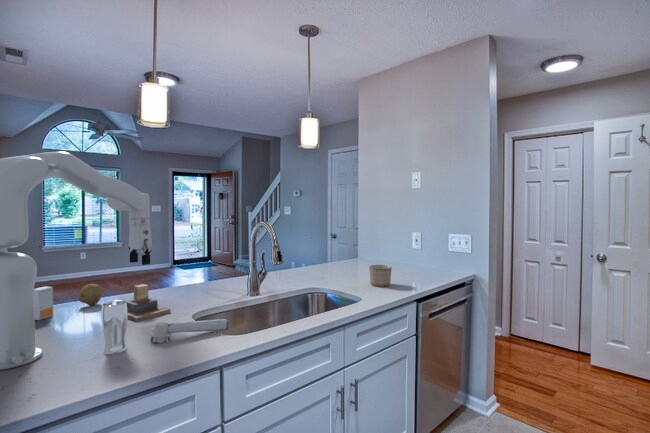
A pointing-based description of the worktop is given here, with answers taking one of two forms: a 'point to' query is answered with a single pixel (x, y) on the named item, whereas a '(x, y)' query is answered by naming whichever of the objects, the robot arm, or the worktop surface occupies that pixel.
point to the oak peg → (140, 293)
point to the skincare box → (43, 302)
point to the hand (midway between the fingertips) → (139, 263)
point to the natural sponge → (90, 294)
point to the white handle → (186, 328)
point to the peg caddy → (145, 310)
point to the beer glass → (114, 326)
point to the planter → (380, 275)
